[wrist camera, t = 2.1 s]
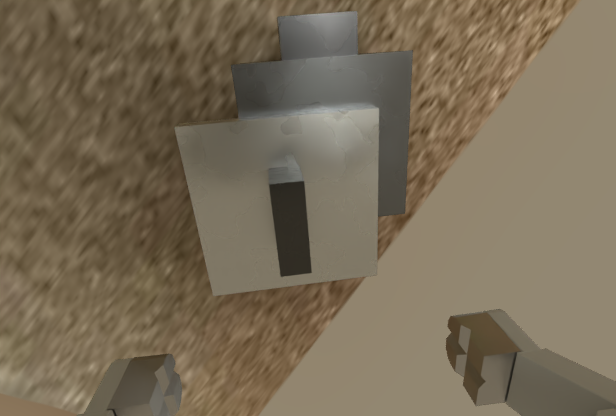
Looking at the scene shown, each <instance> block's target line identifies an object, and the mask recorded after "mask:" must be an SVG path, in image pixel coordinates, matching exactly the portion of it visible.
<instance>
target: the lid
mask: <svg viewBox="0 0 616 416" xmlns="http://www.w3.org/2000/svg"><path fill="white" fill-rule="evenodd" d="M174 128H175V133H176V137H177V141H178V146H179V150H180V154H181V159H182V163H183V167H184V172H185V176H186V180H187V185H188V189H189V193H190V198H191V202H192V206H193V211H194V215H195V219H196V224H197V228H198V232H199V237H200V241H201V245H202V250H203V254H204V258H205V263H206V267H207V271H208V276H209V280H210V284H211V289H212V293H213V296H219V295H226V294H234V293H242V292H250V291H258V290H265V289H273V288H281V287H289V286H296V285H304V284H312V283H320V282H328V281H335V280H343V279H351V278H359V277H366V276H374V275H377V240H378V154H379V108H377V107H375V106H365V107H354V108H343V109H333V110H322V111H311V112H300V113H289V114H278V115H267V116H256V117H245V118H234V119H223V120H213V121H202V122H191V123H180V124H178V125H177V126H175V127H174Z"/></svg>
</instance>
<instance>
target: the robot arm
mask: <svg viewBox="0 0 616 416" xmlns="http://www.w3.org/2000/svg"><path fill="white" fill-rule="evenodd" d="M448 328H449V329H450V331H451V334H450V335H449V336H448V337H447V338H446V350H447V356H448V359H449V361H450V364H451V365H452V367H453V369H454V371H455V372H456V373H458V374H460V375H461V376H463V377H464V382H463V386H464V387H465V389H466V391H467V392H468V394H469V395H470V397H471V399H472V400H473V402H474V404H475V405H476V406H480V405H488V404H495V403H505V402H506V404H507V405H508V406H509V407H511V408H512V409H513V410H515V411H516V412H517V413H519V414H520V415H521V416H616V381H613V380H611V379H609V378H607V377H605V376H603V375H601V374H599V373H597V372H594V371H592V370H590V369H588V368H586V367H584V366H582V365H580V364H578V363H576V362H573V361H571V360H569V359H567V358H565V357H563V356H561V355H559V354H556V353H554V352H552V351H550V350H548V349H540V348H539V347H538V346H537V345H536V344H535V342H534V341H532V339H531V338H530V337H529V336H528V335H527V334H526V333H525V332H524V331H523V330H522V329H521V328H520V327H519V326H518V325H517V324H516V323H515V322H514V321H513V320H512V319H511V318H510V317H509V316H508V314H507V313H506V312H505V311H503V310H501V309H496V310H489V311H483V312H477V313H469V314H462V315H456V316H451V317H450V318H449V320H448ZM174 367H175V360H174V358H173V355H172V354H161V355H152V356H143V357H134V358H128V359H118V360H115V361H114V362H113V363H111V365H110V367H109V368H108V370H107V372H106V374H105V376H104V378H103V379H102V381H101V383H100V385H99V387H98V389H97V390H96V392H95V394H94V396H93V398H92V400H91V401H90V403H89V405H88V407H87V409H86V411H85V412H84V414H79V415H77V416H175V414H176V413H177V412H178V411H179V407H180V403H181V395H182V386H181V380H180V376H179V374H177V373H176V372H174V371H173V370H174Z"/></svg>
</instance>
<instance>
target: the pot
mask: <svg viewBox="0 0 616 416" xmlns="http://www.w3.org/2000/svg"><path fill="white" fill-rule="evenodd" d="M277 23H278V33H279V44H280V54H281V60H278V61H265V62H253V63H241V64H234V65H231V68H232V75H233V81H234V88H235V94H236V101H237V108H238V114H239V118H245V117H256V116H267V115H278V114H289V113H300V112H311V111H322V110H333V109H343V108H354V107H365V106H375V107H377V108H379V154H378V217H379V216H388V215H397V214H405V203H406V182H407V160H408V139H409V118H410V97H411V76H412V55H413V50H411V51H395V52H380V53H365V54H358V36H357V11H352V12H337V13H323V14H309V15H295V16H281V17H277Z"/></svg>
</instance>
